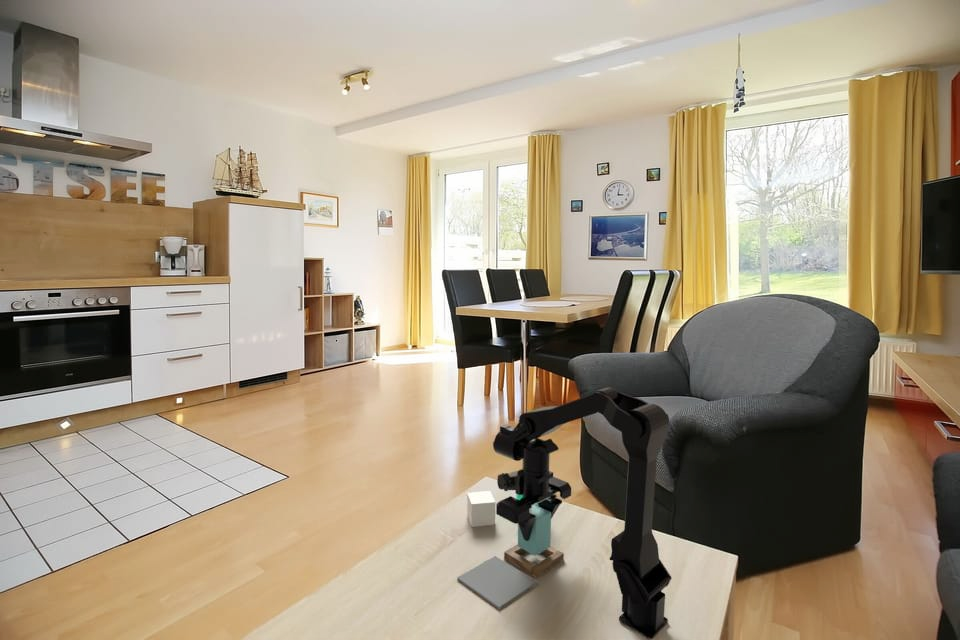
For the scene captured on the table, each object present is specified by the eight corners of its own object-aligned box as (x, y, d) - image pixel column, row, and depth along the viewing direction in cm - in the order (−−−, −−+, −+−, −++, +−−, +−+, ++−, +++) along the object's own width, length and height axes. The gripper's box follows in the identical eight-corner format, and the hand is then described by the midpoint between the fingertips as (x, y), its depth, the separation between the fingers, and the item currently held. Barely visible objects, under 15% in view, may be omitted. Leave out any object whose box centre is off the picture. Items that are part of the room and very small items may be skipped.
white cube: (489, 513, 130) (490, 490, 129) (495, 525, 124) (495, 502, 123) (467, 515, 129) (467, 492, 128) (471, 527, 123) (471, 504, 122)
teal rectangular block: (550, 546, 109) (551, 512, 108) (535, 556, 106) (536, 520, 105) (532, 537, 113) (533, 503, 112) (517, 546, 110) (518, 511, 109)
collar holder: (563, 559, 110) (563, 553, 109) (536, 577, 103) (536, 571, 103) (531, 542, 116) (531, 536, 116) (504, 558, 110) (504, 551, 110)
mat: (537, 583, 101) (537, 581, 101) (499, 609, 94) (499, 607, 94) (495, 558, 110) (495, 555, 110) (457, 579, 102) (457, 577, 102)
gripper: (535, 445, 119) (533, 507, 121) (478, 467, 107) (477, 536, 109) (573, 459, 111) (571, 525, 113) (517, 485, 99) (515, 559, 101)
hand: (534, 535), depth 109 cm, fingers closed on teal rectangular block, 5 cm apart
